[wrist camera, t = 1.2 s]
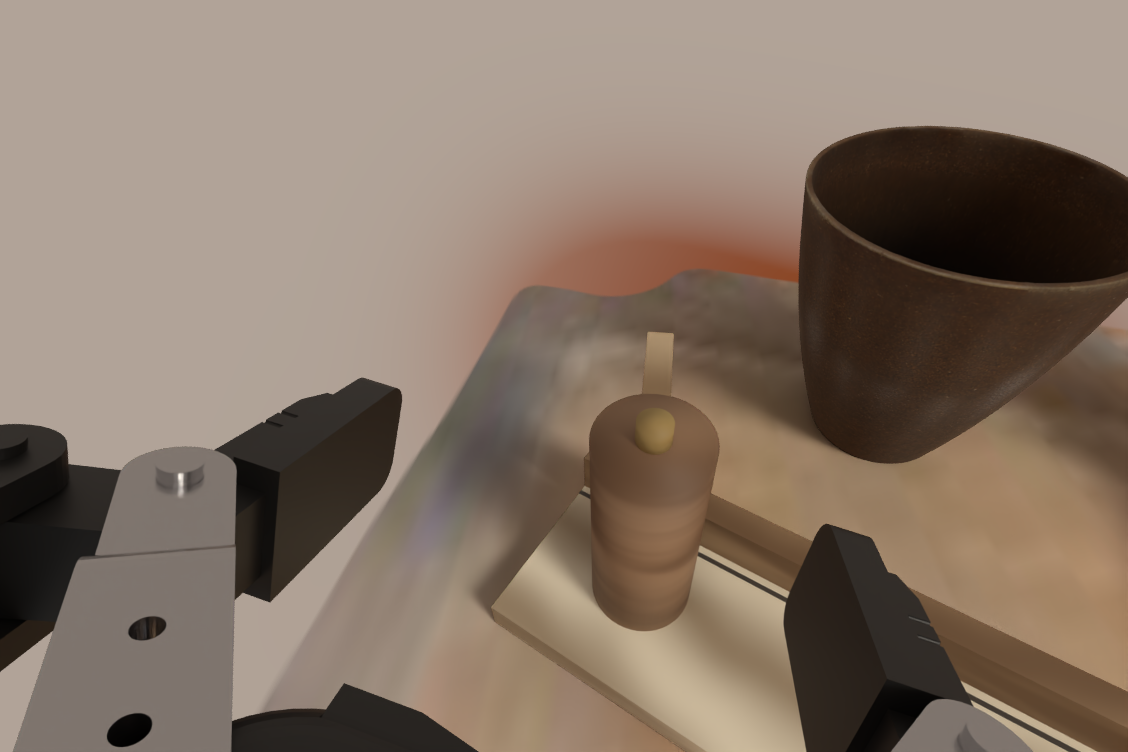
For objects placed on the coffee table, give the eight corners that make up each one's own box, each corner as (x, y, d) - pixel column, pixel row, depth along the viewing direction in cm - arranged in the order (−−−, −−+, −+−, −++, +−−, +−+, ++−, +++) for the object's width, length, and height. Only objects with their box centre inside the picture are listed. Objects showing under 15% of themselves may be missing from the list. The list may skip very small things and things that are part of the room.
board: (598, 484, 37) (598, 439, 34) (1098, 739, 26) (1158, 706, 23) (495, 621, 31) (484, 582, 28) (1082, 1021, 21) (1160, 1022, 18)
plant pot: (1025, 551, 33) (1242, 313, 22) (738, 485, 36) (798, 254, 25) (983, 366, 43) (1117, 139, 32) (762, 329, 47) (812, 115, 35)
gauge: (607, 463, 36) (609, 298, 28) (690, 472, 35) (718, 304, 27) (586, 624, 29) (580, 468, 21) (688, 638, 29) (725, 482, 20)
